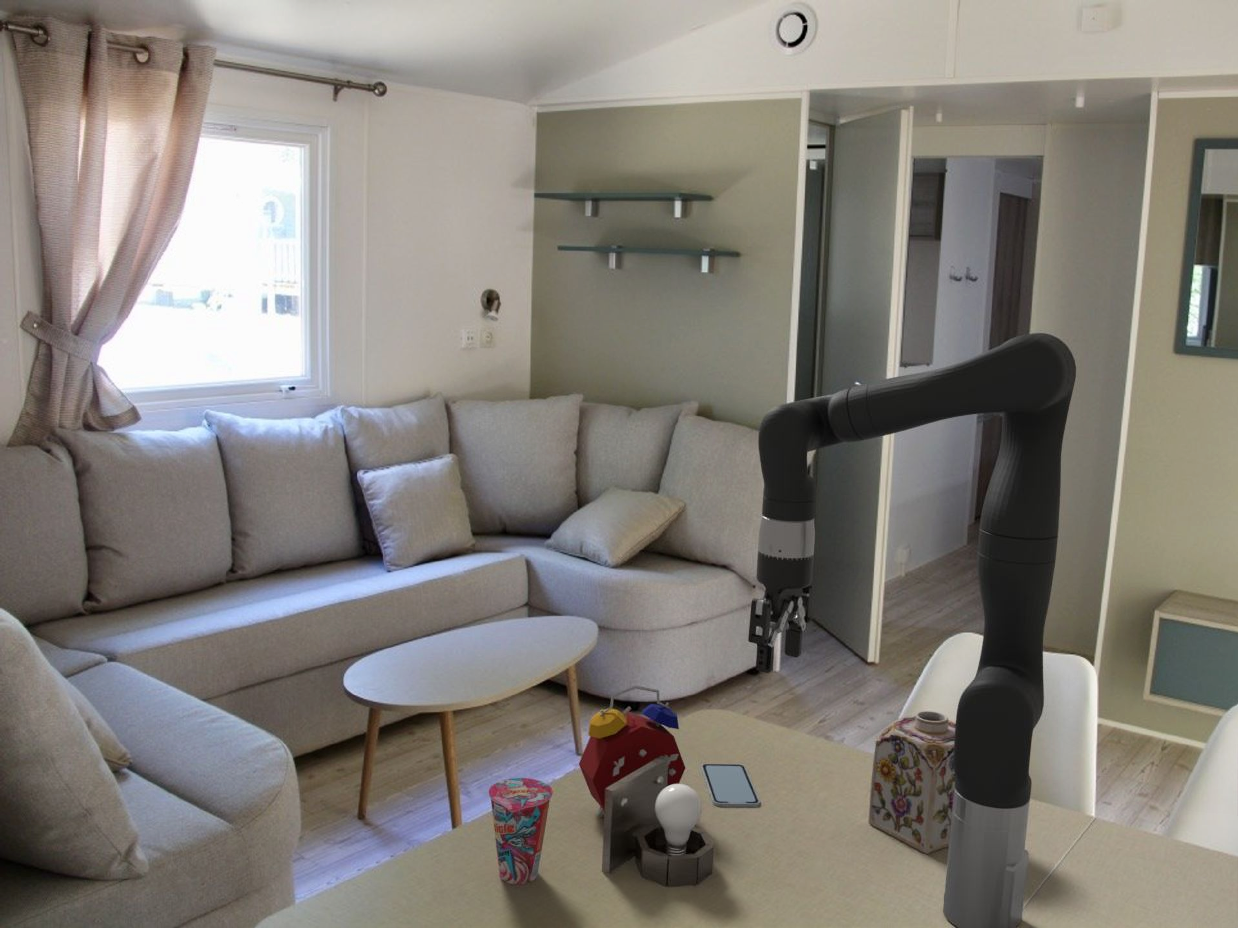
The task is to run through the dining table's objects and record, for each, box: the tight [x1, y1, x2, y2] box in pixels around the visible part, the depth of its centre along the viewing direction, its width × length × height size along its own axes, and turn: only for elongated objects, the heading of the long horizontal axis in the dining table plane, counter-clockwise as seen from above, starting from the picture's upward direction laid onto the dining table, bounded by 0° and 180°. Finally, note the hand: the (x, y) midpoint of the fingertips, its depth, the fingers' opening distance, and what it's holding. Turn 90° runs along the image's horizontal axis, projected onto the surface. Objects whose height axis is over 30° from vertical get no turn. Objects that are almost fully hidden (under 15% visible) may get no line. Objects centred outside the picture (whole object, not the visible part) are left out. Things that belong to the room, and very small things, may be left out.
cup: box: [488, 777, 554, 885], centre depth 164 cm, size 9×8×12 cm
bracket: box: [601, 756, 715, 888], centre depth 169 cm, size 12×14×12 cm
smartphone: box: [701, 763, 761, 808], centre depth 196 cm, size 7×1×15 cm
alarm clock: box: [578, 685, 686, 818], centre depth 182 cm, size 15×9×20 cm, turn 111°
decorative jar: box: [868, 710, 956, 855], centre depth 182 cm, size 12×12×18 cm
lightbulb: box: [655, 783, 703, 855], centre depth 168 cm, size 6×6×11 cm
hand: (778, 663), depth 170 cm, fingers open, 8 cm apart
